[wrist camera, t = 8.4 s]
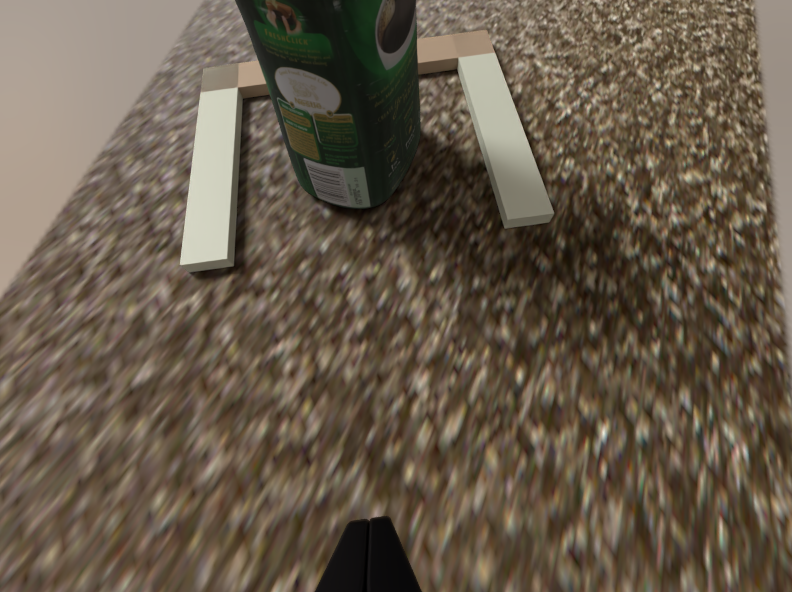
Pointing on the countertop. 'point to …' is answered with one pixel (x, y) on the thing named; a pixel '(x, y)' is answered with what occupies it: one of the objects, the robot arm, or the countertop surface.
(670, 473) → the countertop surface
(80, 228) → the countertop surface
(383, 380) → the countertop surface
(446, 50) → the frame
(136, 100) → the countertop surface
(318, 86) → the coffee jar
